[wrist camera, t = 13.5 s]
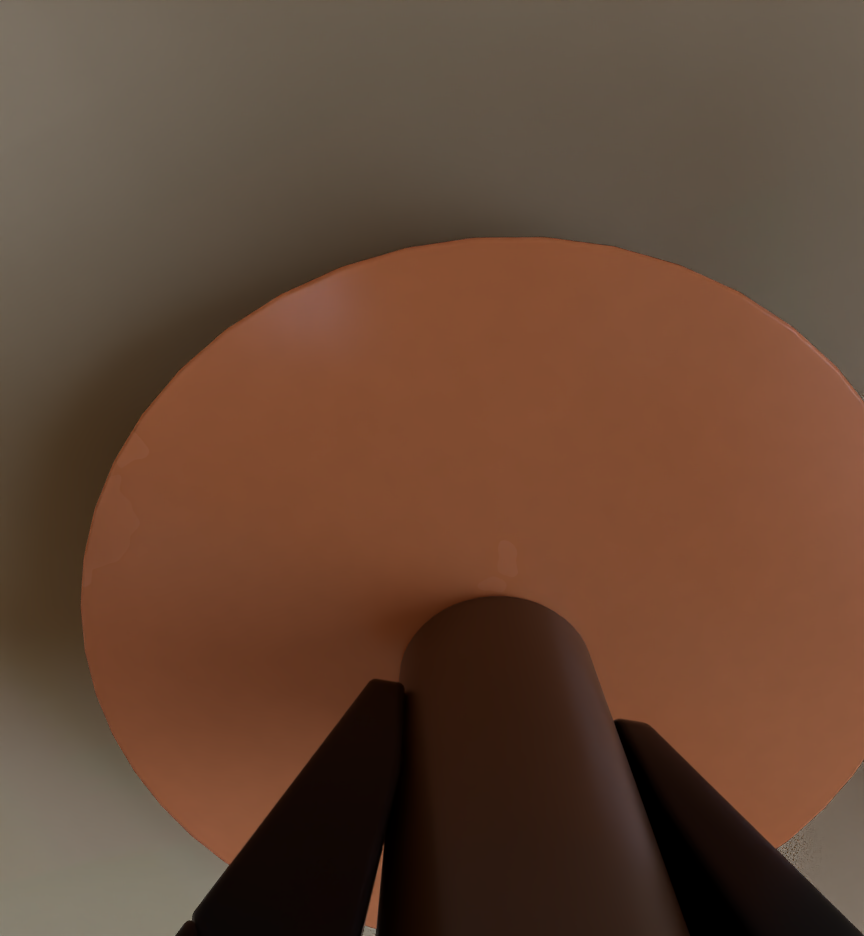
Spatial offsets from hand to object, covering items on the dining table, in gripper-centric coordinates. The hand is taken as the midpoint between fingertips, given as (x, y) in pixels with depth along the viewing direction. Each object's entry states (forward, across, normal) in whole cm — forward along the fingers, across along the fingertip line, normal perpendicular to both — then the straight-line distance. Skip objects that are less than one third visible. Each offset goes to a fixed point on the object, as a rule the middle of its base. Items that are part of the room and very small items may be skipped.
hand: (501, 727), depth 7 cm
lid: (+1, 0, 0) cm, 1 cm away
